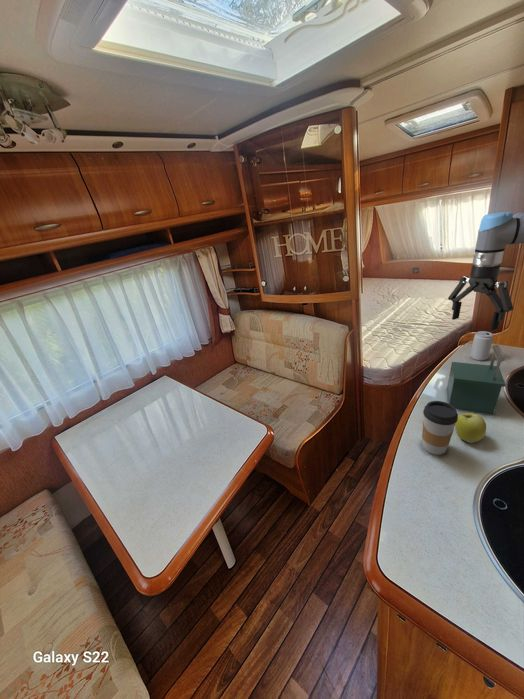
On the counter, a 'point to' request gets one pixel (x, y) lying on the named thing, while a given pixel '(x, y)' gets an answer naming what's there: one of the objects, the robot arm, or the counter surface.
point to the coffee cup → (438, 426)
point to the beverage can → (481, 345)
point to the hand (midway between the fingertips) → (473, 323)
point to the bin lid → (481, 370)
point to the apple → (470, 427)
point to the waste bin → (472, 395)
